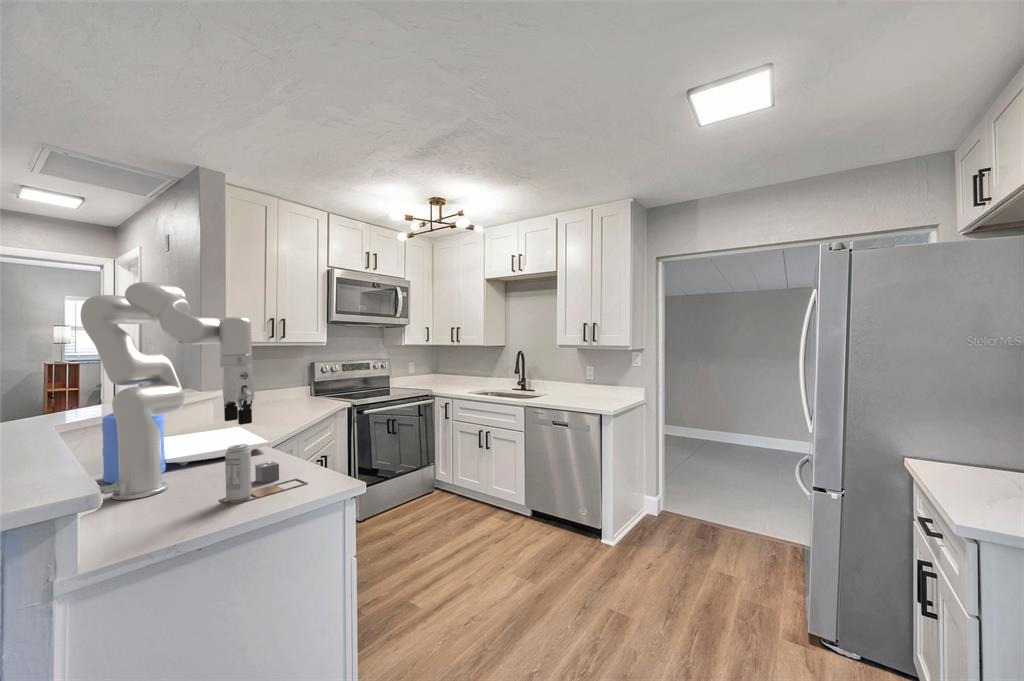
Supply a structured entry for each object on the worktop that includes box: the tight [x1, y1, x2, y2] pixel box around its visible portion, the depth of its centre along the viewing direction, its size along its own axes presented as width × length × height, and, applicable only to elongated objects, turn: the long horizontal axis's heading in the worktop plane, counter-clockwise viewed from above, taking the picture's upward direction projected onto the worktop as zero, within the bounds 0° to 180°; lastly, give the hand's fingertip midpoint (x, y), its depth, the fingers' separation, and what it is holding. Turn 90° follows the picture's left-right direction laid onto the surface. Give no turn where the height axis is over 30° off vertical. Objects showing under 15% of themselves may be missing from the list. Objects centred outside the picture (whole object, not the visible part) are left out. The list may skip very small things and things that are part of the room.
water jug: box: [101, 411, 167, 484], centre depth 141 cm, size 16×16×28 cm
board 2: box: [218, 478, 309, 507], centre depth 124 cm, size 21×7×1 cm, turn 143°
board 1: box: [164, 426, 270, 466], centre depth 173 cm, size 45×32×5 cm
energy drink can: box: [224, 444, 253, 504], centre depth 119 cm, size 6×6×15 cm
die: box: [254, 461, 280, 484], centre depth 135 cm, size 5×5×5 cm
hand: (238, 422), depth 118 cm, fingers open, 9 cm apart
